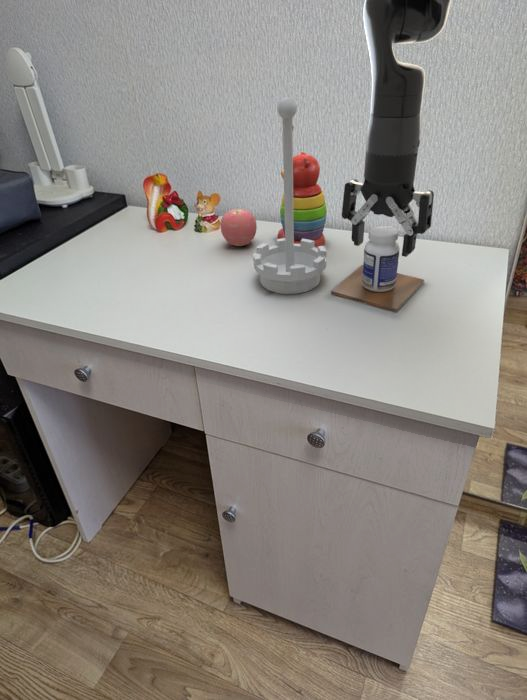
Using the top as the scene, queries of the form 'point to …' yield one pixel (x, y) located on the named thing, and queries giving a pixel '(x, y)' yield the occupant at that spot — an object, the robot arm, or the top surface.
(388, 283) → the pill bottle
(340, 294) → the coaster
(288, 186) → the grey countertop holder stand
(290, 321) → the top surface
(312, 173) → the stacking bear
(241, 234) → the apple
